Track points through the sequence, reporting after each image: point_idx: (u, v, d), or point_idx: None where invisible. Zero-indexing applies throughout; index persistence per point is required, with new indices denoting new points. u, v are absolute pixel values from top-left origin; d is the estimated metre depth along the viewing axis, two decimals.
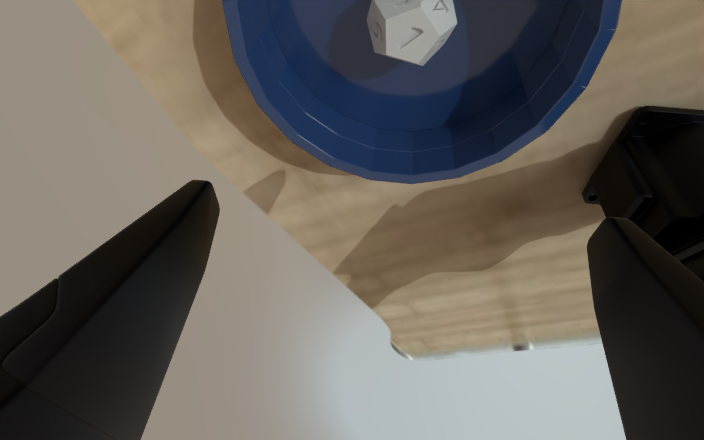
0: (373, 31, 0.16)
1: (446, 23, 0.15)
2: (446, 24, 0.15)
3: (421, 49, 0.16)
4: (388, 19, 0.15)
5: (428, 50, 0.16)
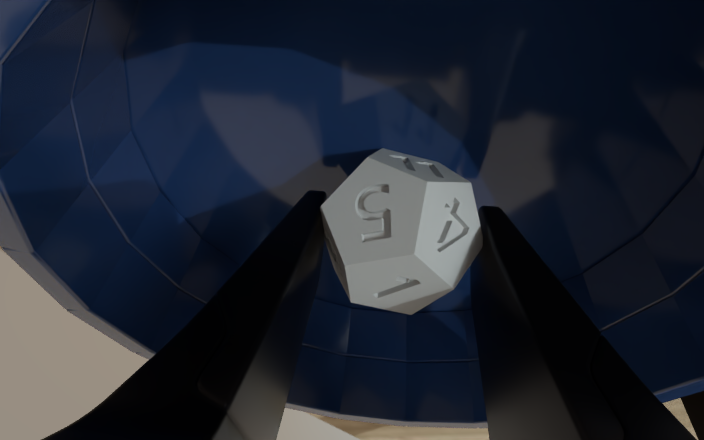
0: (329, 243, 0.09)
1: (465, 257, 0.08)
2: (465, 258, 0.08)
3: (417, 300, 0.08)
4: (349, 265, 0.07)
5: (430, 301, 0.08)
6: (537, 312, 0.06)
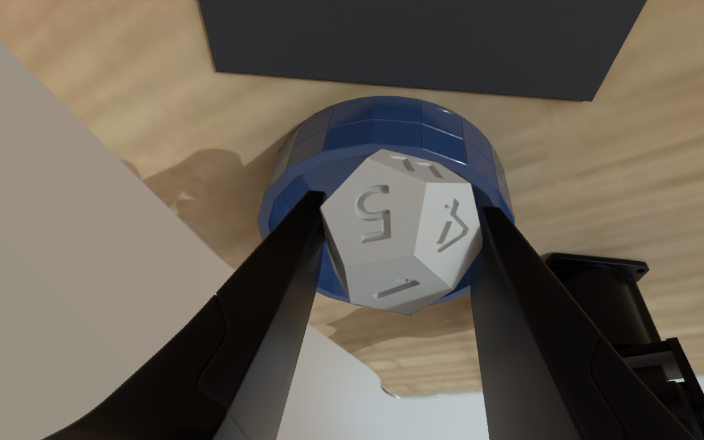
0: (328, 244, 0.09)
1: (464, 257, 0.08)
2: (464, 259, 0.08)
3: (416, 301, 0.08)
4: (349, 266, 0.07)
5: (430, 301, 0.08)
6: (537, 312, 0.06)
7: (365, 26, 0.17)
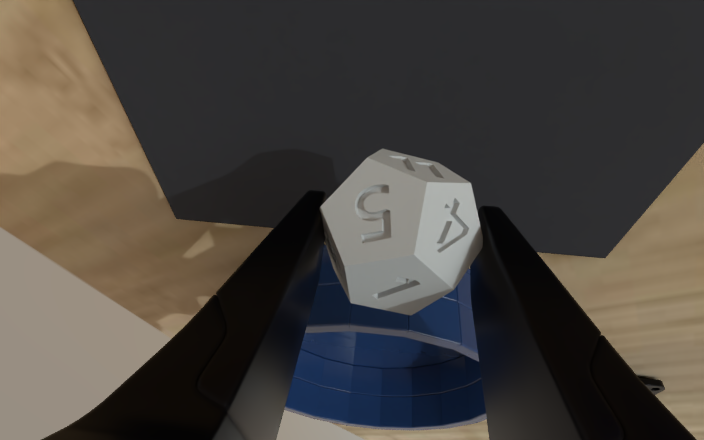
0: (328, 244, 0.09)
1: (464, 257, 0.08)
2: (465, 259, 0.08)
3: (417, 301, 0.08)
4: (349, 266, 0.07)
5: (430, 301, 0.08)
6: (537, 312, 0.06)
7: None
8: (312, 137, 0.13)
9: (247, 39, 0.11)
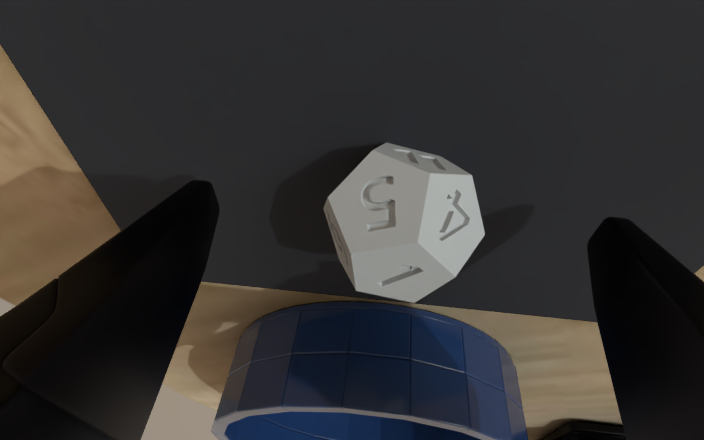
0: (334, 234, 0.09)
1: (466, 246, 0.08)
2: (466, 248, 0.08)
3: (420, 288, 0.08)
4: (356, 253, 0.08)
5: (432, 289, 0.08)
6: None
7: (335, 253, 0.13)
8: (299, 202, 0.11)
9: (218, 101, 0.09)
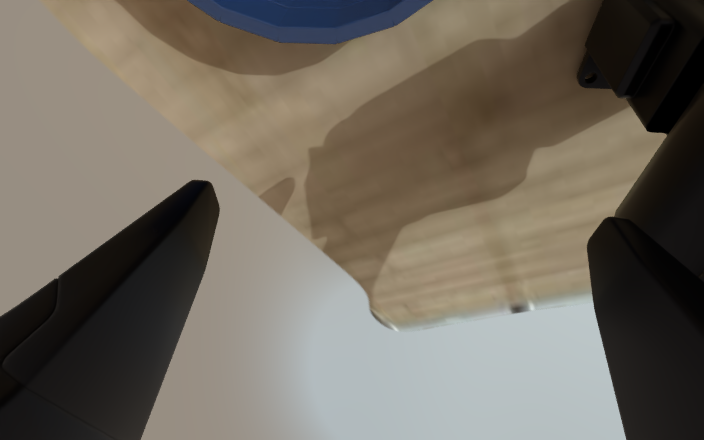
0: None
1: None
2: None
3: None
4: None
5: None
6: None
7: None
8: None
9: None
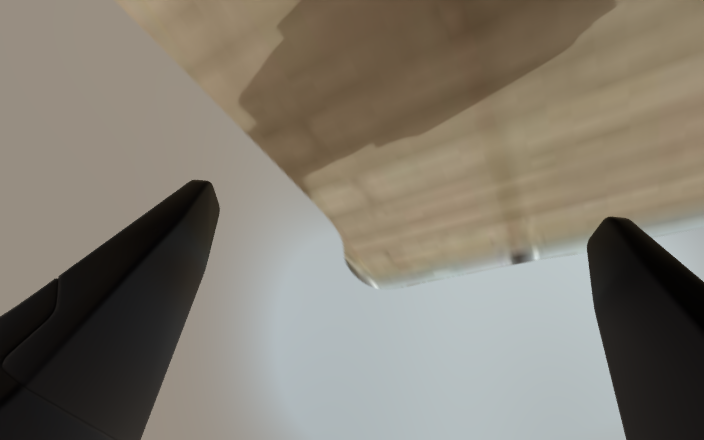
0: None
1: None
2: None
3: None
4: None
5: None
6: None
7: None
8: None
9: None
